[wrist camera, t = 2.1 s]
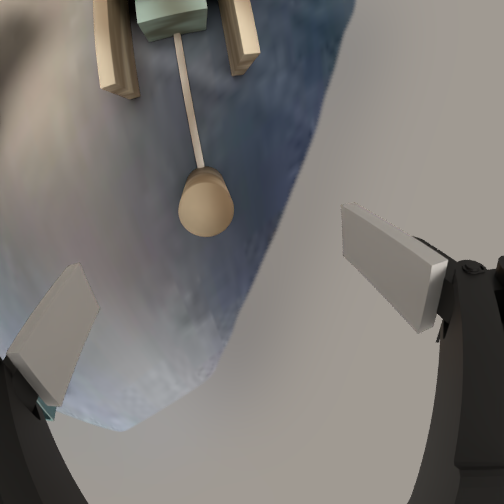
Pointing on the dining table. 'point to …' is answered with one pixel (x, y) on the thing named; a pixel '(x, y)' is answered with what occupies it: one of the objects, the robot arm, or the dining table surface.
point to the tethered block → (189, 116)
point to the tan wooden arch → (121, 47)
